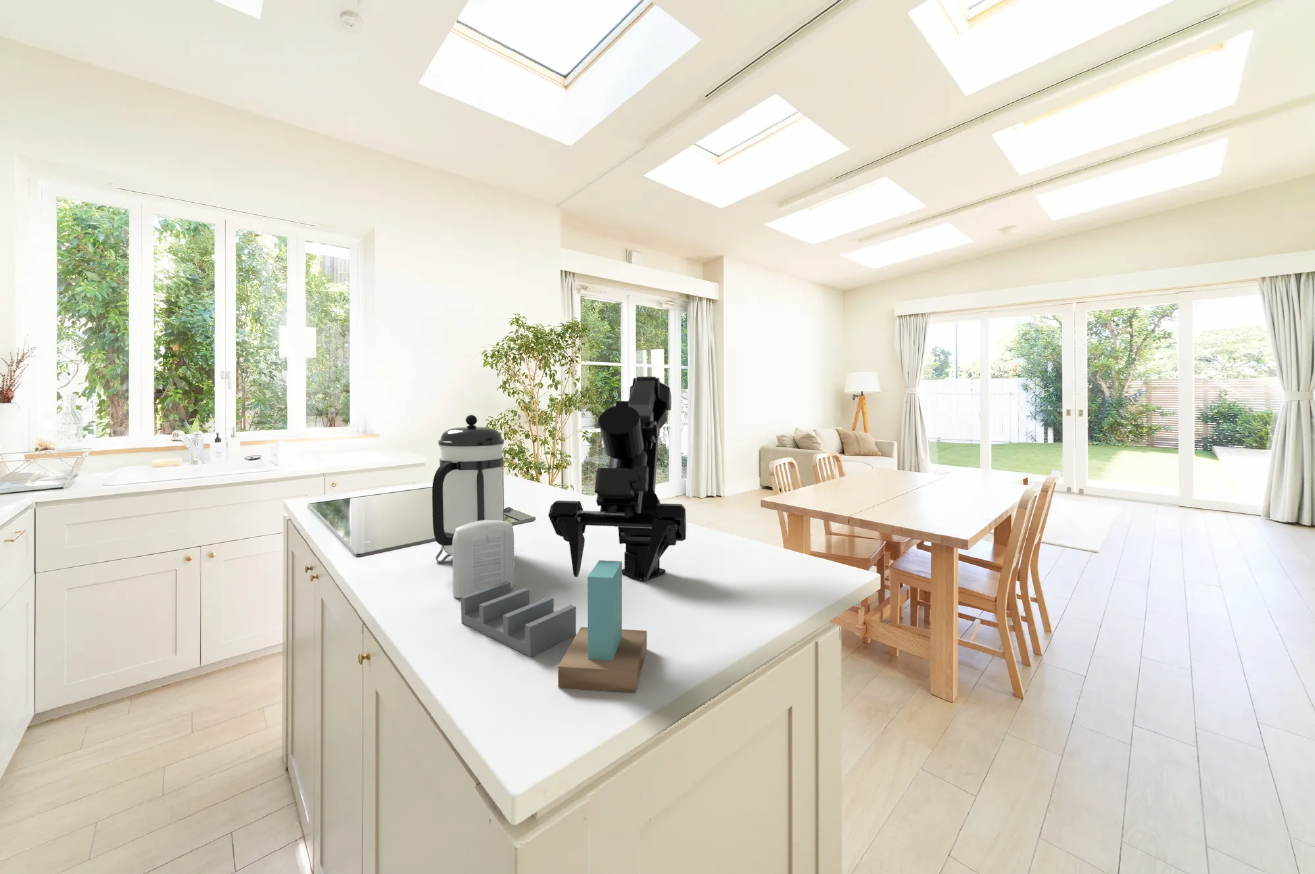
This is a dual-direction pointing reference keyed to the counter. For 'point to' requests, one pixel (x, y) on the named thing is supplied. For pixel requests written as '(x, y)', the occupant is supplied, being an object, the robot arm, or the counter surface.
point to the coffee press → (467, 481)
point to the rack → (517, 618)
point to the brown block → (604, 664)
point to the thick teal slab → (604, 610)
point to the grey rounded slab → (482, 556)
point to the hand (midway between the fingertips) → (610, 577)
